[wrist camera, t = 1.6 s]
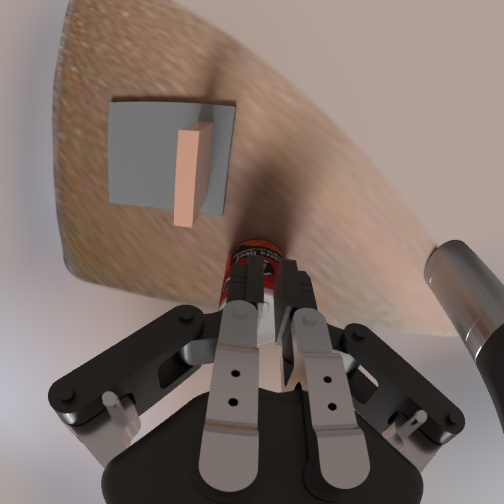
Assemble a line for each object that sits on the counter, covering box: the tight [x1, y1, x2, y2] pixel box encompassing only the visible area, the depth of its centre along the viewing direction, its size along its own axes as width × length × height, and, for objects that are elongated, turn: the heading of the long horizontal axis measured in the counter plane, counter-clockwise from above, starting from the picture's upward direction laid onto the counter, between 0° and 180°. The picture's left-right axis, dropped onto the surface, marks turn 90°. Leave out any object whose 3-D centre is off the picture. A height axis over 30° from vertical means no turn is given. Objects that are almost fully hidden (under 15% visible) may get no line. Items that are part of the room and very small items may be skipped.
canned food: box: [218, 239, 284, 345], centre depth 34 cm, size 8×8×11 cm
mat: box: [108, 101, 236, 215], centre depth 32 cm, size 15×13×1 cm
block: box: [174, 121, 214, 227], centre depth 28 cm, size 2×9×8 cm, turn 172°
